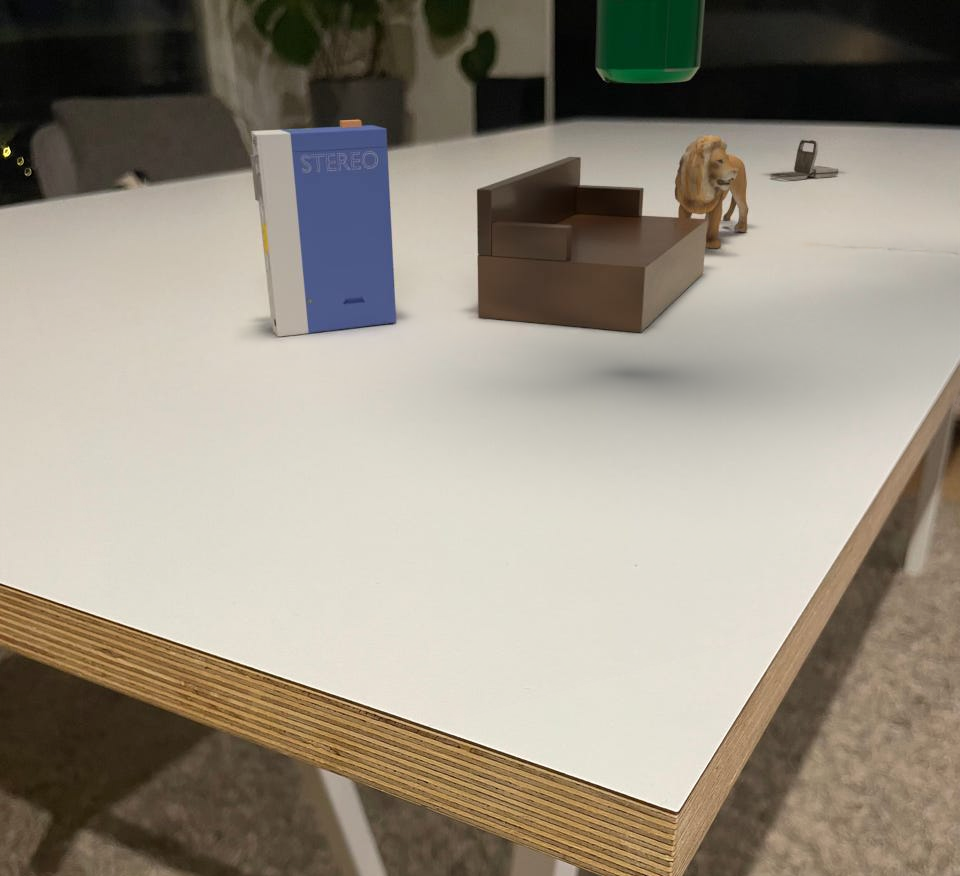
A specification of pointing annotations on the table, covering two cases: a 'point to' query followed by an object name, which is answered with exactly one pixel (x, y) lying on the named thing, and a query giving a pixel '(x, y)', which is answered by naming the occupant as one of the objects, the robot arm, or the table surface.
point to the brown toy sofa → (580, 252)
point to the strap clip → (806, 165)
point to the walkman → (325, 226)
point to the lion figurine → (711, 185)
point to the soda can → (648, 40)
